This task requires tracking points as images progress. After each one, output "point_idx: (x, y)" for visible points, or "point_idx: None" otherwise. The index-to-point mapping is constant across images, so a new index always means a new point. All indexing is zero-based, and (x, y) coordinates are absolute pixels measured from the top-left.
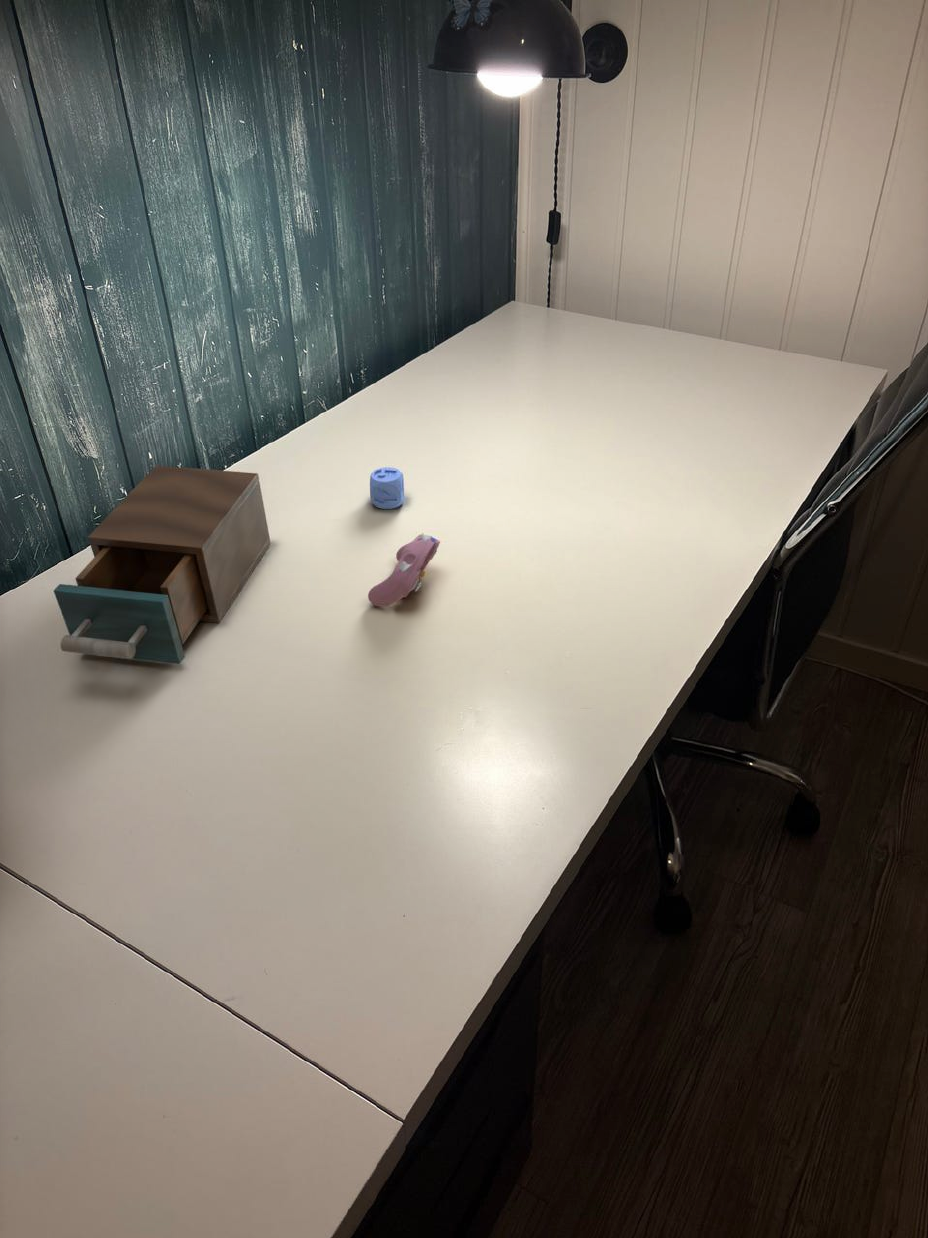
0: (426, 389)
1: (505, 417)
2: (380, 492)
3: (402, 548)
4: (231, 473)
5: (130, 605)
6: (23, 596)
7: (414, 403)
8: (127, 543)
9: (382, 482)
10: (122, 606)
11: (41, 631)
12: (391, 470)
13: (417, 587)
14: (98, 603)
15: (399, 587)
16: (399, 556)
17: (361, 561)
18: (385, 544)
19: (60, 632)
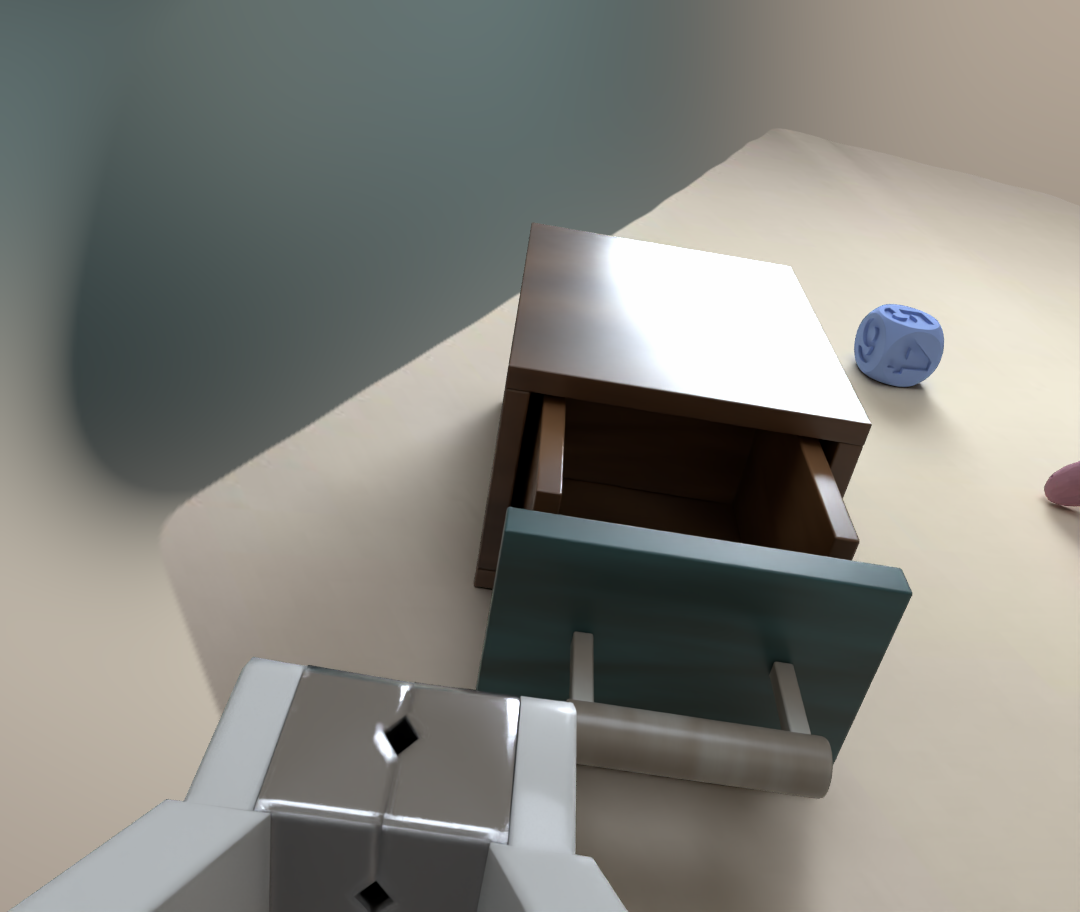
0: (760, 206)
1: (928, 260)
2: (902, 351)
3: (1078, 468)
4: (731, 259)
5: (780, 597)
6: (188, 527)
7: (762, 222)
8: (635, 394)
9: (918, 330)
10: (746, 598)
11: (293, 643)
12: (910, 311)
13: None
14: (658, 583)
15: None
16: (1064, 485)
17: (962, 490)
18: (971, 457)
19: (356, 648)
